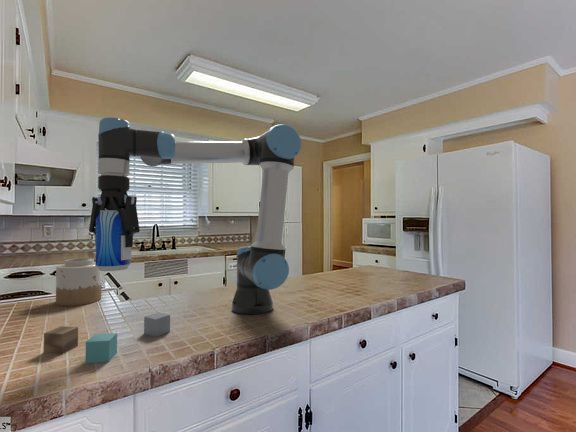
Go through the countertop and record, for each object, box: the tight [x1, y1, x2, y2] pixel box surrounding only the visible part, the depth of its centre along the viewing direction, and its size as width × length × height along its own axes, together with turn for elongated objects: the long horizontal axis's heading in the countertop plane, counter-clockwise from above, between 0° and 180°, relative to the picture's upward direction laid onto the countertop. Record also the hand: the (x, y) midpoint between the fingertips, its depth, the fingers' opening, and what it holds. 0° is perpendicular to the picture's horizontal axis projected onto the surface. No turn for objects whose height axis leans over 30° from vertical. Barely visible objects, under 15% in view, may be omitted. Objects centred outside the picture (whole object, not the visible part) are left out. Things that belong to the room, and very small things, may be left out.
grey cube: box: [143, 311, 171, 338], centre depth 92 cm, size 5×5×5 cm
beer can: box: [95, 210, 132, 272], centre depth 86 cm, size 8×8×16 cm
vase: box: [55, 257, 103, 307], centre depth 127 cm, size 15×15×17 cm
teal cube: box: [85, 332, 118, 364], centre depth 75 cm, size 5×5×5 cm
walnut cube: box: [43, 325, 79, 355], centre depth 80 cm, size 5×5×5 cm
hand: (113, 258), depth 86 cm, fingers closed on beer can, 8 cm apart
